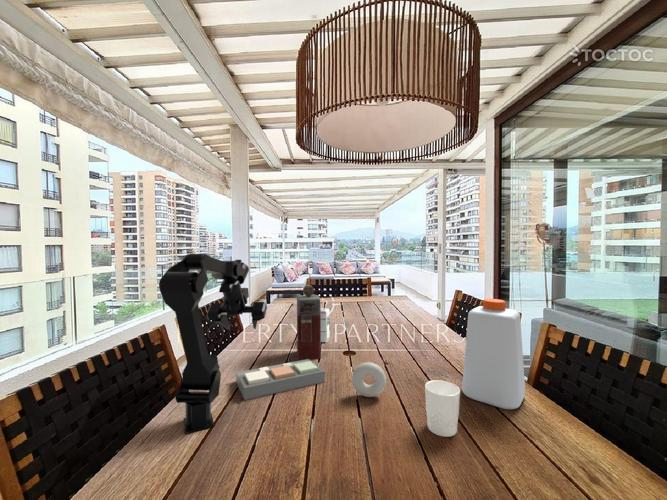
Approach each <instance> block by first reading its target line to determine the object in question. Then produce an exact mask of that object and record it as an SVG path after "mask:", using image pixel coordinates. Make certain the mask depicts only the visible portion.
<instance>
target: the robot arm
mask: <svg viewBox="0 0 667 500" xmlns="http://www.w3.org/2000/svg"><path fill="white" fill-rule="evenodd" d="M196 271H198V272H199V273H198V272H196ZM249 271H250V267H249V266H248V264H246V263H245V262H242V259H235V260H220V259H218V258H215V257H213V256H210V255H208V254H205V253H188V254H186V255H185V256H184V257H183V258H182V259H181V260H180V261H178V262H177V263H175V264H173V265H172V266H170V267H168V268H167V270H166V271H165V273H164V274H163V275H162V276H161V278H160V279H159V281H158V288H159V292H160V295H161V297H162V300H163V302H164V304H166V305H167V307H169V308H170V309H171V310H172V311H173V312H174V313H175V317H176V322H177V325H178V331H179V335H180V339H181V342H182V344H181V345H182V347H183V351H184V352H183V353H184V355H185V356H184V357H185V360H186V365H185V366H184V369H183V371H182V373H181V377H182V378H181V380H180V383H179V385H178V387H177V391H176V393H175V396H174V397H175V401H176V403H177V404H180V403H184V404H185V417H184V418H183V432H184V434H188V433H189V434H190V433H193V432H199V431H200V430H204V429H208V428H213V427H214V426H215V424H214V419H213V414H212V412H211V411H212V403H213V402H214V400H216V399H217V397H218V396H219V395H220V386H221V378H222V377H221V376H222V374H221V371H220V365H219V362H218V361H219V360H218V359H219V358H218V356H217V355H216V354H209V352H208V348H207V343H206V338H205V332H204V328H203V322H202V318H201V312H200V308H199V307H200V306H199V303H200V301H201V300H202V298H203V295H204V288H205V287H206V285H207V283H208V281H209V278H208V274H211V277H212V278H213V279H215V280H222V281H221V283H220V287H219V293H222V295H223V299H224V301H223V302H215V303H214V302H211V304H210V306H209V308H208V310H207V312H206V319H207V320H208V321H209V322H210V321H212V322H213V323H217V324H218V325H220V326H222V327H223V328H225V329H226V330H228V331H229V330H230V329H231V326H230V322H229V320H228V317H227V316H230V315H231V316H232V315H243V314H244V313H245V314H250V313H251V318H252V319H251V322H252V326H253V329H254V330H256V329H257V325H258V322H259V321H261V320H263V319H265V317H266V314H267V310H268V304H267V302H266V301H254V302H253V305H247V304H248V301H249V300H248V298H250V292H249V288H248V287H242V286H241V285H242V284H244V283H245V280H246V278H247V276H248V273H249ZM225 306H226V307H225Z"/></svg>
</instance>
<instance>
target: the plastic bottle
mask: <svg viewBox="0 0 667 500" xmlns="http://www.w3.org/2000/svg"><path fill="white" fill-rule="evenodd" d="M467 315H468V316H467V324H466V326H467V327H466V337H465V338H466V339H465V349H464V360H463V370H462V371H463V373H462V374H463V375H462V384H461V390H462V393H463V394H464V395H465V396H466V397H468V398H469V399H471V400H475V401H478V402H480V403H484V404H486V405H490V406H494V407H497V408H499V409H502V410H503V409H504V410H515V409H518V408H519V407H520V406H521V404H522V402H523V400H524V398H525V396H526V383H525V371H524V369H525V367H524V353H523V337H522V323H521V314H520V312H519V311H517V310H516V309H512V308H507V302H506V301H505V300H503V299H498V298H484V299H483V300H482V305H479V306H477V307H474V308H472V309H471V310H470V311H469V312H468V314H467Z"/></svg>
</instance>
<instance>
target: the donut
mask: <svg viewBox="0 0 667 500" xmlns="http://www.w3.org/2000/svg"><path fill="white" fill-rule="evenodd" d="M368 375H369V376H372V377H373V378H374V381H373V383H372V384H367V383H365V382H364V377H365V376H368ZM351 383H352V386H353V388H354V390H355V391H356V392H357V393H358V394H359V395H361V396H363V397H366V398H374V397H377V396H379V395H380V394H381V393H383V391H384V389H386V385H387V376H386V374H385V372H384V370H383V369H382V367H380V365H378V364H376V363H375V362H370V361H369V362H362V363H361V364H358V365H357V366H356V367H355V369H354V370H353V372H352V375H351Z"/></svg>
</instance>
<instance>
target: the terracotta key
mask: <svg viewBox="0 0 667 500" xmlns="http://www.w3.org/2000/svg"><path fill="white" fill-rule="evenodd" d="M270 374H271V375H272V377H273V378H274V379H275V380H277V379H282V378H286V377H291V376H294V371H293V370H292V369H291V368H290V367H289V366H288V365H287V366H282V367H277V368H271V369H270Z"/></svg>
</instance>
